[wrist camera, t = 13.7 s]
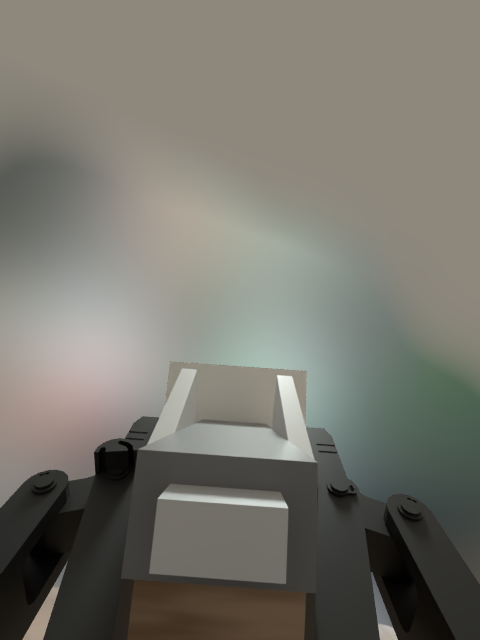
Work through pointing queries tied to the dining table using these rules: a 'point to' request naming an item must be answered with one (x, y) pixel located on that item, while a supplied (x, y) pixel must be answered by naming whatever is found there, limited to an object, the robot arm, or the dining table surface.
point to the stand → (214, 613)
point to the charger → (226, 491)
